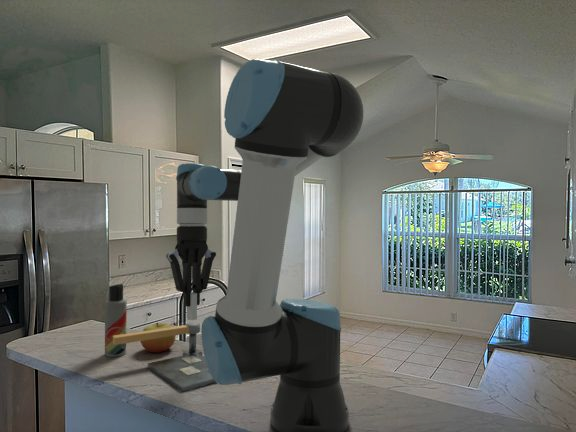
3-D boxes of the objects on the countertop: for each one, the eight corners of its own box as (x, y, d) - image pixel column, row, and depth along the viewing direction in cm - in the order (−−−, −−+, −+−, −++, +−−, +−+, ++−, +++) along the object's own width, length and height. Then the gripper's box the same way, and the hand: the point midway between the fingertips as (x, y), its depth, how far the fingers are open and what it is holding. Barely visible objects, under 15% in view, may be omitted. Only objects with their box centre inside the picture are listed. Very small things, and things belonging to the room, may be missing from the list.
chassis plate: (234, 377, 103) (234, 372, 103) (182, 391, 94) (182, 386, 94) (195, 356, 119) (196, 351, 119) (147, 367, 110) (147, 362, 110)
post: (202, 354, 120) (202, 333, 120) (189, 357, 117) (189, 335, 117) (195, 351, 123) (195, 330, 123) (183, 353, 120) (183, 332, 120)
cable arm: (196, 329, 123) (196, 321, 123) (202, 332, 120) (202, 324, 120) (111, 342, 109) (112, 334, 109) (115, 346, 106) (115, 337, 106)
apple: (153, 343, 130) (153, 317, 130) (181, 346, 127) (181, 320, 127) (133, 353, 121) (133, 325, 121) (163, 356, 118) (163, 328, 118)
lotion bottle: (118, 358, 117) (119, 286, 117) (100, 356, 118) (101, 285, 118) (130, 351, 122) (130, 283, 122) (112, 350, 123) (113, 282, 123)
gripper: (207, 225, 113) (207, 313, 113) (161, 225, 105) (160, 320, 104) (222, 225, 108) (221, 317, 107) (174, 225, 99) (173, 325, 99)
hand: (191, 318), depth 106 cm, fingers closed
